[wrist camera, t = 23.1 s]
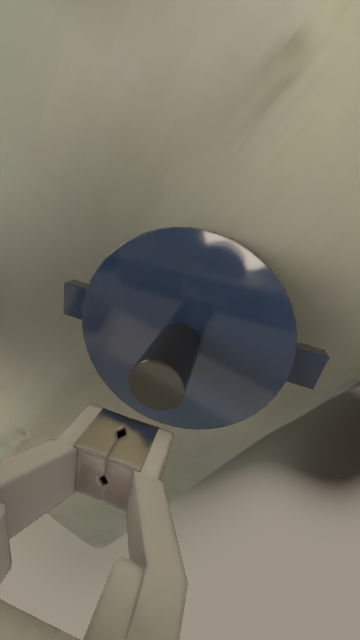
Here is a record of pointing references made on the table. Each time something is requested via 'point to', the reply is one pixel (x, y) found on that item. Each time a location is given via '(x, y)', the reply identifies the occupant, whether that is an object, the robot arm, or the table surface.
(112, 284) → the lid
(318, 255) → the table surface
